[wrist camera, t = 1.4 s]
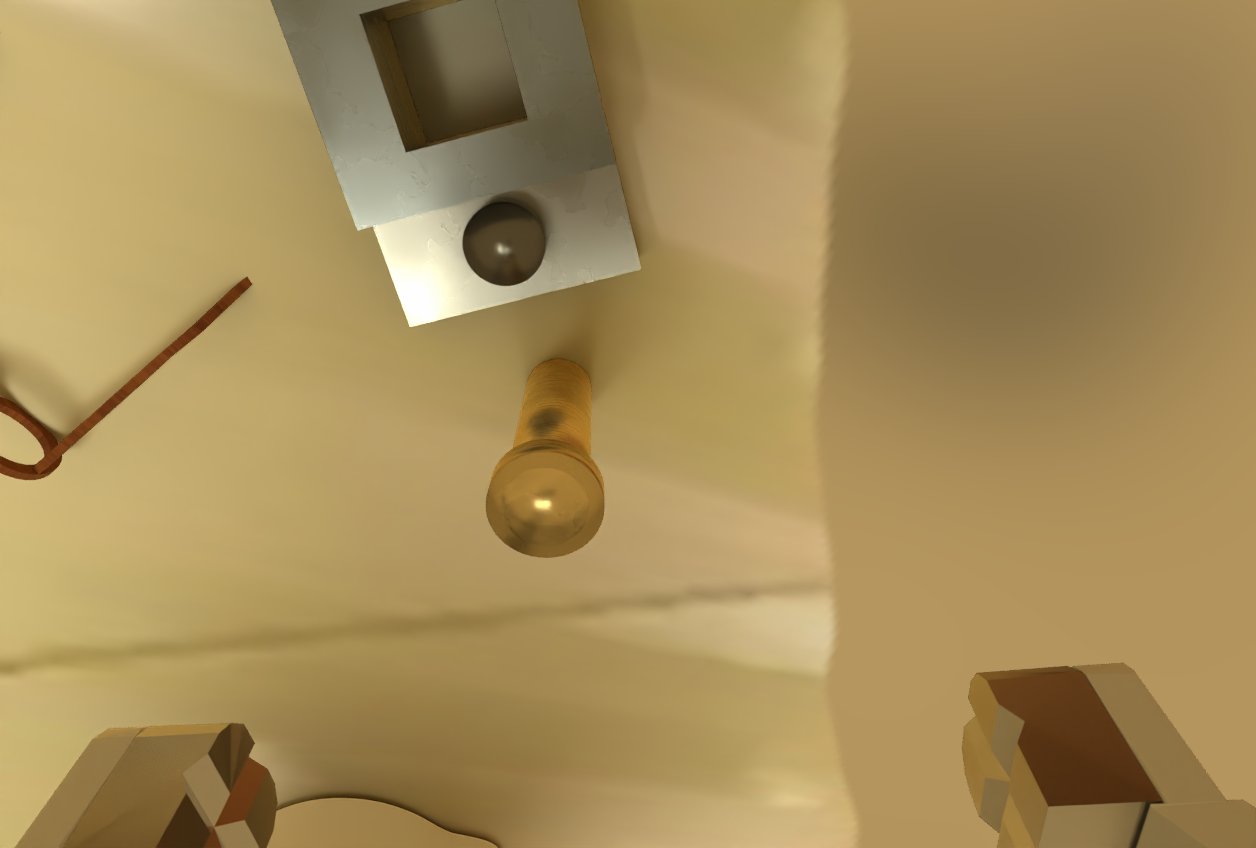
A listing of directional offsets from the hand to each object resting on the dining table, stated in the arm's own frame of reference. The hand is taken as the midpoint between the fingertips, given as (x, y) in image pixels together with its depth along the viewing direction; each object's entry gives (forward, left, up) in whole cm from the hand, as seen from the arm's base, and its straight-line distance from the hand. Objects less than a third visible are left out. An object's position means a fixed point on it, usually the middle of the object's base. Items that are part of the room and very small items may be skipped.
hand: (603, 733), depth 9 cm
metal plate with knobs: (+8, +3, -28) cm, 29 cm away
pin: (-6, +3, -28) cm, 29 cm away
